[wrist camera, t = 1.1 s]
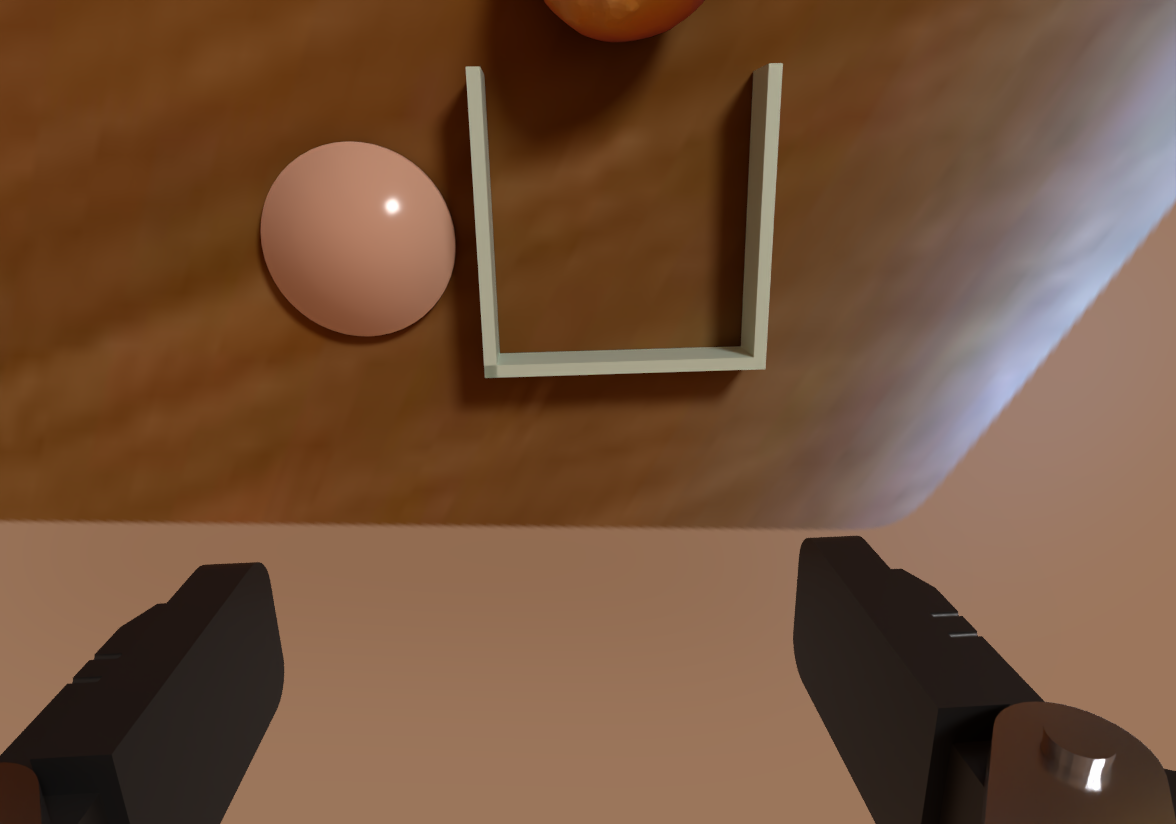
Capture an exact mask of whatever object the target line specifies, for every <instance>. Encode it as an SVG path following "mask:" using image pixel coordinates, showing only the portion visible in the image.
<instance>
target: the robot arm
mask: <svg viewBox="0 0 1176 824" xmlns="http://www.w3.org/2000/svg"><path fill="white" fill-rule="evenodd" d="M798 566H799V567H798V579H797V592H796V605H795V618H794V632H793V644H794V654H795V659H796V664H797V668H798V672H799V675H800V678H801V680H802V682H803V684H804V686H805V688H806V690H807V692H808V694H809V696H810V697H811V700H812V701H813V703H814V705H815V707H816V709H817V711H818V713H819V715H820V717H821V718H822V721H823V722H824V724H825V727H826V728H827V730H828V732H829V734H830V736H831V738H832V740H833V742H834V744H835V746H836V748H837V750H838V752H839V754H840V755H841V757H842V759H843V761H844V763H845V765H846V767H847V769H848V771H849V773H850V774H851V777H852V779H853V781H854V782H855V784H856V786H857V788H858V790H859V792H860V794H861V796H862V798H863V800H864V801H865V804H866V806H867V807H868V810H869V812H870V813H871V815H872V817H873V819H874V821H875V823H876V824H1176V771H1172V770H1168V769H1164V768H1163V766H1162V765H1161V763H1160V762H1159V760H1158V759H1157V758H1156V756H1155V755H1154V754H1153V753H1152V752H1151V750H1149V749H1148V748H1147V747H1146V746H1145V745H1144V744H1143V743H1142V742H1141V741H1139V740H1138V739H1137V738H1135V737H1134V736H1133V735H1131V734H1130V733H1129V732H1127V731H1125V730H1124V729H1122V728H1120V727H1119V726H1117V725H1116V724H1114V723H1111V722H1110V721H1108V720H1106V719H1104V718H1102V717H1100V716H1097V715H1095V714H1092V713H1090V712H1087V711H1084V710H1081V709H1078V708H1075V707H1071V706H1067V705H1063V704H1057V703H1050V702H1044V701H1043V699H1041V697H1040V696H1039V695H1038V694H1037V693H1036V692H1035V691H1034V690H1033V689H1032V688H1031V687H1030V686H1029V685H1028V684H1027V683H1026V682H1025V681H1024V680H1023V679H1022V678H1021V677H1020V676H1019V674H1018V673H1017V672H1016V671H1015V670H1014V669H1013V668H1012V667H1011V666H1010V665H1009V664H1008V663H1007V662H1006V661H1005V660H1004V659H1003V658H1002V657H1001V656H1000V655H999V654H998V653H997V652H996V651H995V649H994V648H993V647H992V646H991V645H990V644H989V643H988V642H987V641H986V640H985V639H984V638H983V637H982V636H981V637H980V636H979V637H978V635H977V631H976V630H975V629H974V628H973V627H972V626H971V624H970V623H969V622H968V621H967V620H966V619H965V618H964V617H963V616H959V615H958V611H957V610H956V609H955V608H954V607H953V606H952V605H951V604H950V603H949V602H948V601H947V599H946V598H944V596H943V595H942V594H941V593H940V592H939V591H938V590H937V589H936V588H935V587H933V586H931V585H929V584H928V583H926V582H924V581H922V580H921V579H919V578H917V577H915V576H914V575H912V574H910V573H908V572H906V571H905V570H903V569H890V568H889V567H888V566H887V565H886V563H885V562H884V561H883V560H882V559H881V558H880V557H879V555H878V554H877V553H876V552H875V551H874V550H873V549H872V548H871V547H870V545H869V544H868V543H867V542H866V541H865V540H864V539H863V538H862V537H860V536H844V537H843V536H842V537H820V538H806V539H805V540H804V541H803V543H802V545H801V549H800V554H799V565H798ZM283 682H284V660H283V653H282V648H281V642H280V636H279V630H278V625H277V618H276V613H275V606H274V601H273V595H272V589H271V584H270V579H269V574H268V571H267V569H266V567H265V566H264V565H263V564H262V563H259V562H256V563H233V564H213V565H202V566H200V567H199V568H197V569H196V570H195V572H194V573H193V574H192V575H191V576H190V577H189V578H188V580H187V581H186V582H185V583H184V584H183V585H182V586H181V587H180V589H179V590H178V591H177V592H176V593H175V594H174V596H173V597H172V598H171V599H170V600H169V601H168V602H167V603H164V604H157V605H155V606H153V607H152V608H150V609H149V610H147V611H145V612H144V613H143V614H141V615H139V616H137V617H136V618H134V619H133V620H131V621H130V622H128V623H127V624H125V625H123V626H122V627H120V628H119V629H118V630H117V631H116V632H115V633H114V634H113V636H112V637H111V638H110V639H109V640H108V641H107V642H106V643H105V644H104V645H103V646H102V647H101V648H100V649H99V651H98V652H97V653H96V654H95V658H94V660H89V661H88V662H87V663H86V664H85V666H84V667H83V668H82V669H81V670H80V671H79V672H78V673H77V674H76V675H75V676H74V678H73V683H72V684H67V685H66V686H65V687H64V688H63V689H62V690H61V691H60V692H59V694H57V695H56V696H55V698H54V699H53V700H52V701H51V702H50V703H49V704H48V705H47V706H46V707H45V708H44V709H43V710H42V712H41V713H40V714H39V715H38V716H37V717H36V718H35V719H34V720H33V721H32V722H31V723H30V724H29V725H28V727H27V728H26V729H25V730H24V731H23V732H22V733H21V734H20V735H19V736H18V737H17V738H16V739H15V740H14V741H13V743H12V744H11V745H10V746H9V747H8V748H7V749H6V750H5V751H4V752H3V753H2V754H1V755H0V824H220V823H221V821H222V819H223V817H224V815H225V813H226V811H227V809H228V807H229V805H230V803H231V801H232V799H233V797H234V795H235V793H236V791H237V789H238V787H239V785H240V782H241V781H242V778H243V777H244V775H245V773H246V771H247V769H248V767H249V764H250V762H251V760H252V759H253V756H254V754H255V752H256V750H257V748H258V746H259V744H260V742H261V740H262V738H263V736H264V734H265V732H266V730H267V728H268V726H269V724H270V722H271V720H272V718H273V716H274V714H275V712H276V710H277V708H278V705H279V702H280V699H281V695H282V690H283Z"/></svg>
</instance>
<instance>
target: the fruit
mask: <svg viewBox="0 0 1176 824" xmlns="http://www.w3.org/2000/svg"><path fill="white" fill-rule="evenodd" d="M543 1H544V2H545V3H546V5H547V6H548V7H549V8H550V9H551V11H552V12H553V13H555V14H556V15H557V16H558V17H559V18H561V19H562V20H563V21H564V22H565V23H566V24H568V25H569V26H570V27H572V28H573V29H574V30H576V31H577V32H579V33H580V34H582V35H584V36H587V37H590V38H592V39H595V40H600V41H605V42H628V41H635V40H640V39H644V38H649V37H652V36H655V35H658V34H660V33H663V32H666V31H668V30H670V29H671V28H673V27H674V26H676V25H677V24H678V23H680V22H681V21H683V20H684V19H686V18H687V17H688V16H689V15H691V14H692V13H693V12H694V11H695V10H696V9H697V8H698V7H699V6H700V5H701V4H702V3H703V2H704V0H543Z"/></svg>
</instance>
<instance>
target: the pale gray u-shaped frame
mask: <svg viewBox="0 0 1176 824" xmlns="http://www.w3.org/2000/svg"><path fill="white" fill-rule="evenodd" d="M782 68H783V63H769V64H767V65H765V66H763V67H761V68H759V69H757V70H755V71H753V89H752V111H751V133H750V154H749V176H748V198H747V220H746V241H745V263H744V285H743V307H742V328H741V346H734V347H701V348H668V349H635V350H601V351H568V352H535V353H502V354H500V350H499V332H498V314H497V295H496V277H495V259H494V241H493V223H492V204H491V186H490V168H489V150H488V132H487V113H486V95H485V77H484V73H483V71H482V69H481V68H480V67H466V81H467V97H468V113H469V129H470V146H471V162H472V178H473V194H474V210H475V227H476V243H477V259H478V275H479V291H480V307H481V324H482V340H483V356H484V372H485V378H501V377H533V376H564V375H595V374H627V373H658V372H690V371H721V370H753V369H765V367H766V349H767V332H768V314H769V296H770V279H771V261H772V244H773V226H774V208H775V191H776V173H777V156H778V138H779V120H780V103H781V85H782Z"/></svg>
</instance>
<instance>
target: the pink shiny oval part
mask: <svg viewBox="0 0 1176 824" xmlns="http://www.w3.org/2000/svg"><path fill="white" fill-rule="evenodd" d="M261 243H262V249H263V253H264V258H265V261H266V264H267V267H268V269H269V272H270V274H271V276H272V278H273V280H274V282H275V283H276V285H277V286H278V288H279V289H280V291H281V292H282V294H283V295H284V296H285V297H286V298H287V300H288V301H289V302H290V303H291V304H292V305H293V306H294V307H295V308H296V309H297V310H298V311H299V312H301V313H302V314H304V315H305V316H306V317H308V318H309V319H310V320H312V321H314V322H316V323H317V324H319V325H321V326H323V327H326V328H328V329H330V330H333V331H336V332H339V333H343V334H348V335H354V336H378V335H384V334H389V333H393V332H396V331H398V330H401V329H404V328H406V327H407V326H409V325H411V324H413V323H415V322H416V321H417V320H419V319H420V318H422V317H423V316H424V315H425V314H426V313H427V312H428V311H429V310H430V309H431V308H432V307H433V306H434V305H435V304H436V302H437V301H438V300H439V299H440V297H441V296H442V294H443V293H444V291H445V289H446V287H447V285H448V283H449V280H450V278H451V276H452V272H453V268H454V264H455V257H456V236H455V228H454V224H453V220H452V216H451V213H450V211H449V208H448V206H447V204H446V202H445V200H444V198H443V196H442V194H441V193H440V191H439V189H438V188H437V187H436V185H435V184H434V183H433V181H432V180H431V179H430V178H429V177H428V176H427V175H426V174H425V173H424V172H423V171H422V170H421V169H420V168H419V167H418V166H416V165H415V164H414V163H413V162H411V161H410V160H408V159H407V158H405V157H404V156H402V155H400V154H398V153H396V152H394V151H392V150H390V149H387V148H384V147H381V146H378V145H373V144H368V143H363V142H336V143H331V144H326V145H322V146H320V147H317V148H314V149H312V150H310V151H308V152H306V153H304V154H302V155H301V156H299V157H298V158H296V159H295V160H294V161H293V162H291V163H290V164H289V165H288V166H287V167H286V168H285V169H284V170H283V171H282V172H281V173H280V175H279V176H278V178H277V179H276V180H275V182H274V183H273V185H272V187H271V189H270V191H269V193H268V195H267V198H266V201H265V204H264V207H263V213H262V218H261Z"/></svg>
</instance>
